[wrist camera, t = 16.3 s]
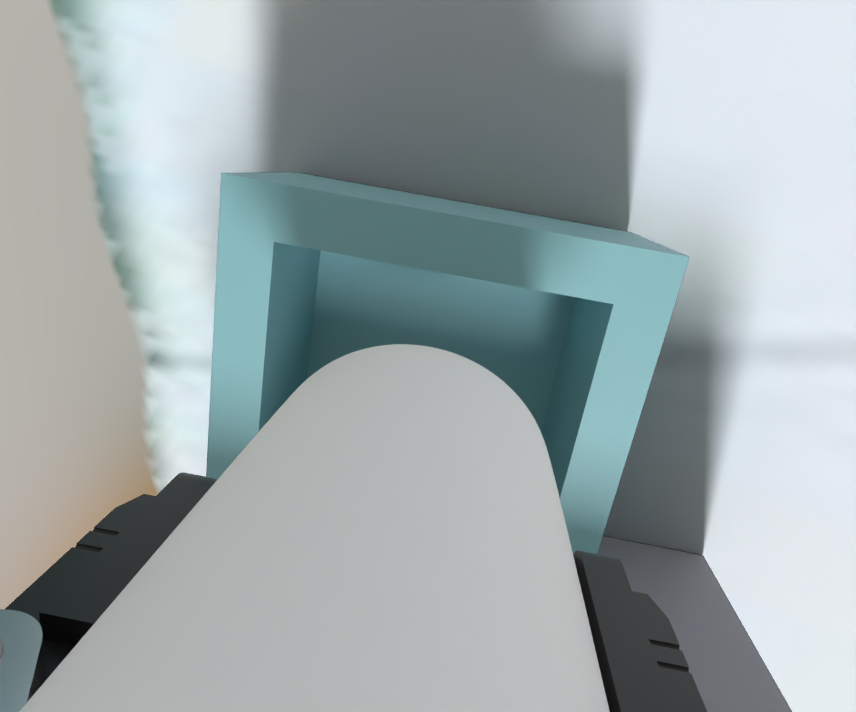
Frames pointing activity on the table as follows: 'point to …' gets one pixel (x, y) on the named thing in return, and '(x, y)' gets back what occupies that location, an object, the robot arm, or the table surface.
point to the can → (358, 564)
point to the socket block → (440, 313)
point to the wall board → (701, 626)
